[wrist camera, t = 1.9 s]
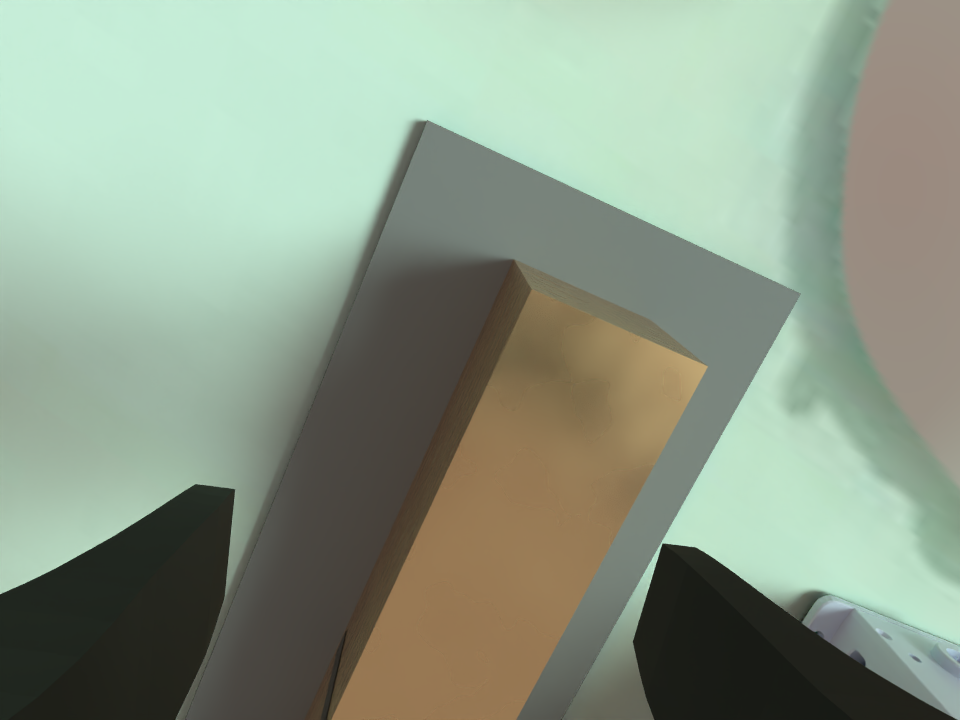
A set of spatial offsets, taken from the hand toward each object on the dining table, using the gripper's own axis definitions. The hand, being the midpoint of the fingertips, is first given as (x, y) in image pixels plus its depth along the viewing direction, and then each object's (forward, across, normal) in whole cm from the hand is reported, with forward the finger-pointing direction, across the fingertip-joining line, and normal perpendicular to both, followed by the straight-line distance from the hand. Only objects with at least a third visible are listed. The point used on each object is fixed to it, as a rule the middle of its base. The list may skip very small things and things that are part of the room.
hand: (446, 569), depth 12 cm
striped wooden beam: (+10, -2, +7) cm, 12 cm away
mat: (+10, 0, +13) cm, 16 cm away
